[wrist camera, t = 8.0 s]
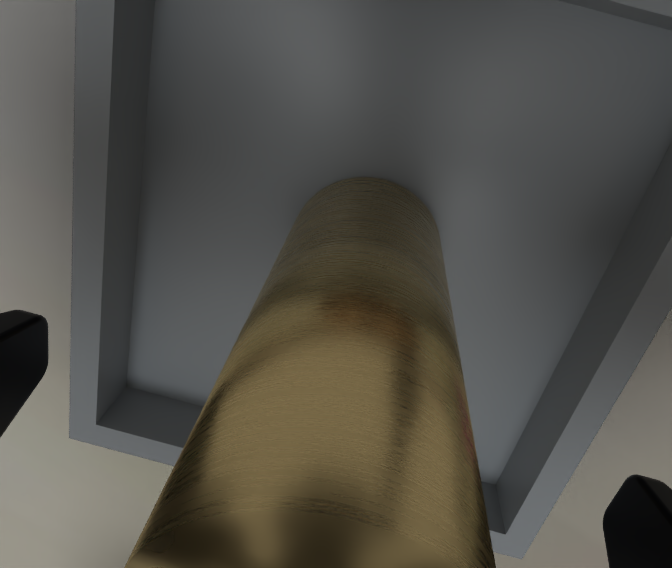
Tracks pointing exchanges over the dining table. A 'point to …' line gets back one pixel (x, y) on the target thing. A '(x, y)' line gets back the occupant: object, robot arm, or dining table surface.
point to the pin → (335, 409)
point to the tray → (385, 163)
